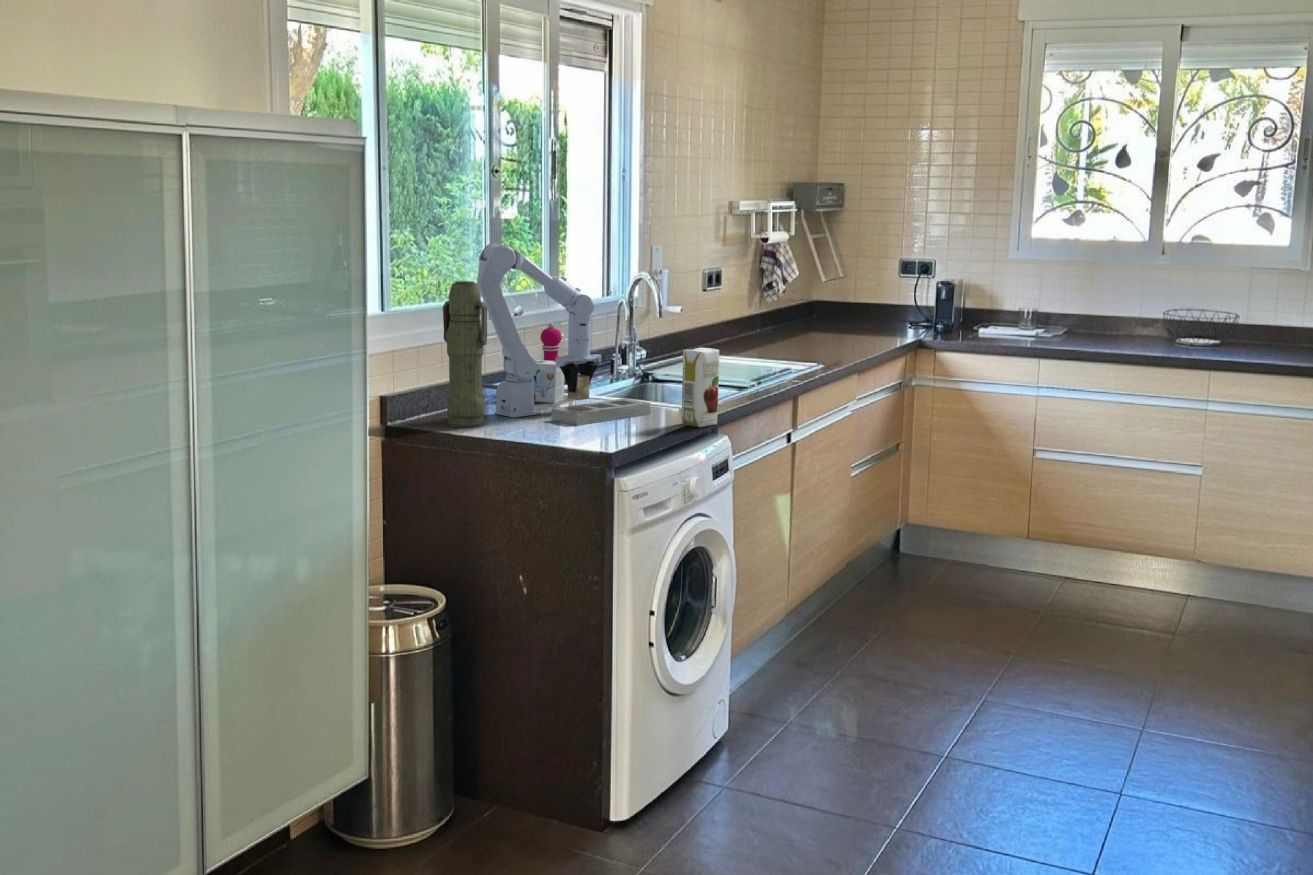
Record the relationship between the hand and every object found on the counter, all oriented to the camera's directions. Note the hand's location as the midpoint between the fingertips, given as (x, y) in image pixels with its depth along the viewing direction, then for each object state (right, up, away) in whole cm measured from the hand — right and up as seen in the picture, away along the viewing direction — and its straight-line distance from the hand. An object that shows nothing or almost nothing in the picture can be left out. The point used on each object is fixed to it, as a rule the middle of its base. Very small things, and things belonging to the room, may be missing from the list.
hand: (578, 391), depth 344 cm
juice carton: (+31, -9, -15) cm, 36 cm away
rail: (+6, -7, -8) cm, 12 cm away
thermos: (-27, -9, -22) cm, 35 cm away
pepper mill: (-10, +1, +31) cm, 32 cm away
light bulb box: (-11, -2, +17) cm, 20 cm away
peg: (0, -2, 0) cm, 2 cm away
